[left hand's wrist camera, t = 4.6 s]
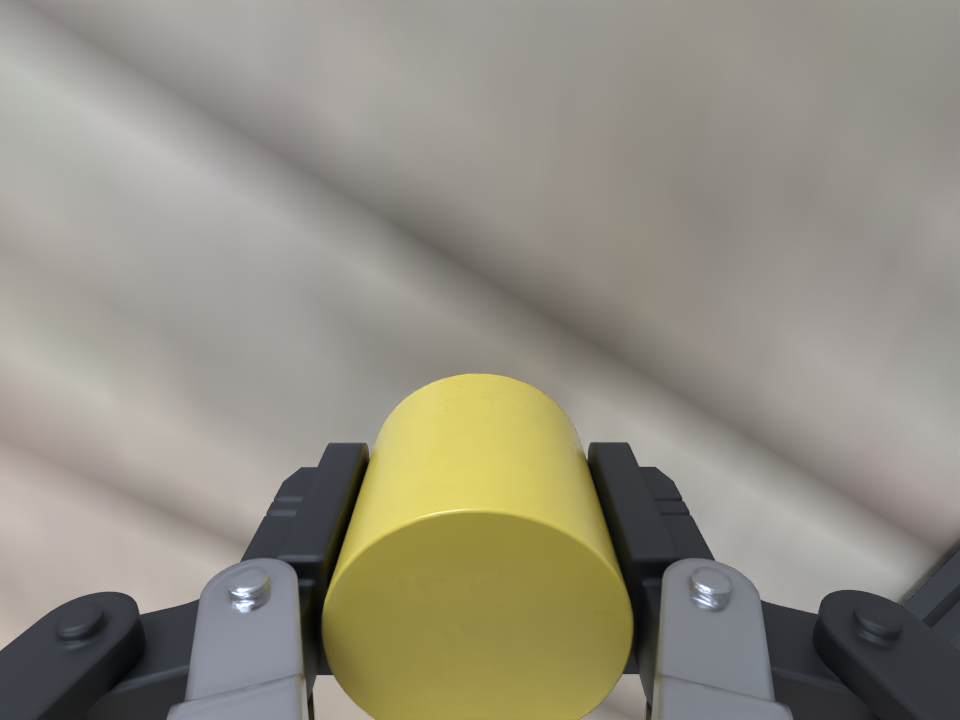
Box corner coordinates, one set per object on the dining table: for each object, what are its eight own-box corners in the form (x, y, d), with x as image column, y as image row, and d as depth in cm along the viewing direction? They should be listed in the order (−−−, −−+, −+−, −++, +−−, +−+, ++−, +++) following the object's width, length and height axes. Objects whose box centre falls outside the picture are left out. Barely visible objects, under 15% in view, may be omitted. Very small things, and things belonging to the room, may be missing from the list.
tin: (373, 551, 14) (325, 745, 9) (371, 366, 12) (313, 502, 8) (572, 559, 14) (613, 755, 10) (596, 377, 12) (658, 517, 8)
